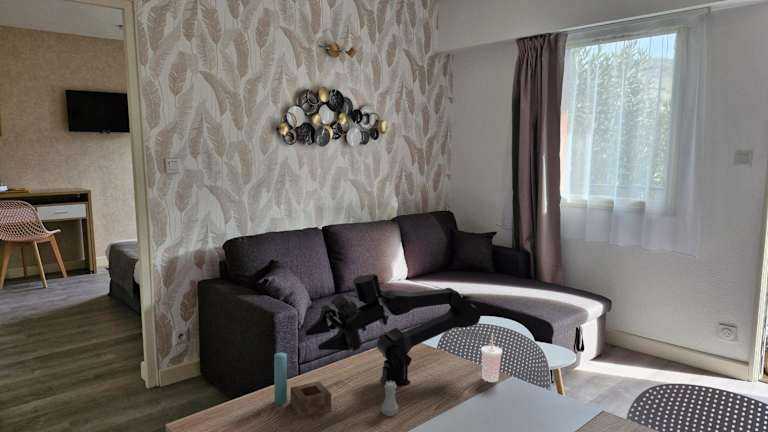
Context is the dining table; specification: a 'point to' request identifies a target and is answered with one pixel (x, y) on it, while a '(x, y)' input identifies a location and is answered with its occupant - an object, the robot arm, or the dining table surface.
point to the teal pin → (280, 378)
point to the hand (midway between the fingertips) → (311, 340)
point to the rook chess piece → (390, 400)
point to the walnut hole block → (310, 399)
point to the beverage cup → (491, 362)
